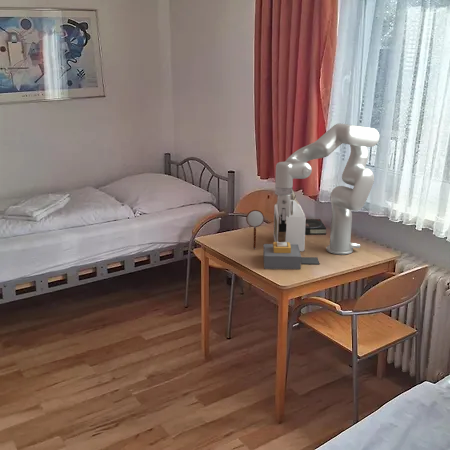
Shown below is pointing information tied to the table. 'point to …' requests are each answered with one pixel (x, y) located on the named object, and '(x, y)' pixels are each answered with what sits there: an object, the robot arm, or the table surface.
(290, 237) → the gable box
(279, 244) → the button
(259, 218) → the magnifying glass
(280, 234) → the brown cylinder
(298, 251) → the box
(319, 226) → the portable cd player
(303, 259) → the pad
